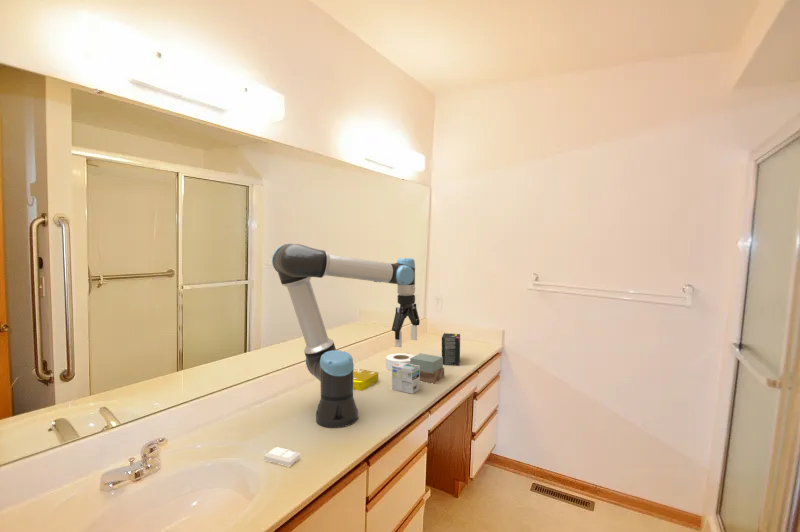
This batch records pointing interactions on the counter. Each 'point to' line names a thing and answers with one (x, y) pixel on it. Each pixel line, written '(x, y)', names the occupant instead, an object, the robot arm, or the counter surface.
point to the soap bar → (282, 456)
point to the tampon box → (451, 349)
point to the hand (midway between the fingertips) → (406, 343)
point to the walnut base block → (432, 376)
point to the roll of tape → (397, 359)
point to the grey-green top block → (427, 362)
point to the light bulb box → (406, 377)
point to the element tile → (363, 379)
